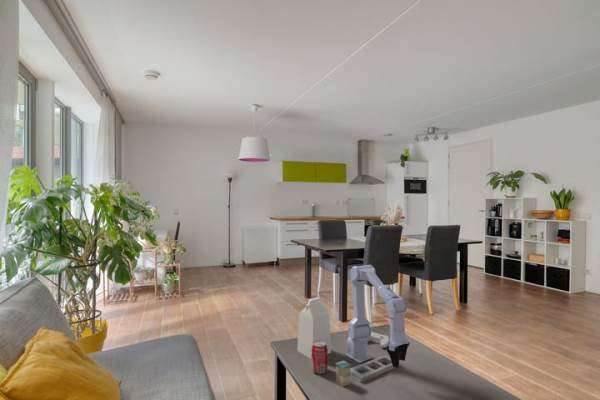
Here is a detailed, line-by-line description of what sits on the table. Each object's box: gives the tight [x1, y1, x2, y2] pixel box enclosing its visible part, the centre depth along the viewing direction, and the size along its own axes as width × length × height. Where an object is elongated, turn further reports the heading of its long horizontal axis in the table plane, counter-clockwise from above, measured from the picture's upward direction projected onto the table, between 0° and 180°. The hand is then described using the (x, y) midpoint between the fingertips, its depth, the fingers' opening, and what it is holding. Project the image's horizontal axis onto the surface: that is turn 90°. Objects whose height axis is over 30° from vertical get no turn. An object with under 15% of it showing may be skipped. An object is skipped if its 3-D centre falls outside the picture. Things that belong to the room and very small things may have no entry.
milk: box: [296, 297, 332, 360], centre depth 167 cm, size 12×12×26 cm
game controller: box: [367, 331, 390, 349], centre depth 177 cm, size 14×4×10 cm
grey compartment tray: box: [350, 354, 397, 384], centre depth 149 cm, size 8×24×2 cm, turn 124°
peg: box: [335, 360, 352, 388], centre depth 139 cm, size 4×4×8 cm
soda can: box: [310, 341, 329, 375], centre depth 149 cm, size 7×7×12 cm
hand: (399, 363), depth 135 cm, fingers open, 7 cm apart
